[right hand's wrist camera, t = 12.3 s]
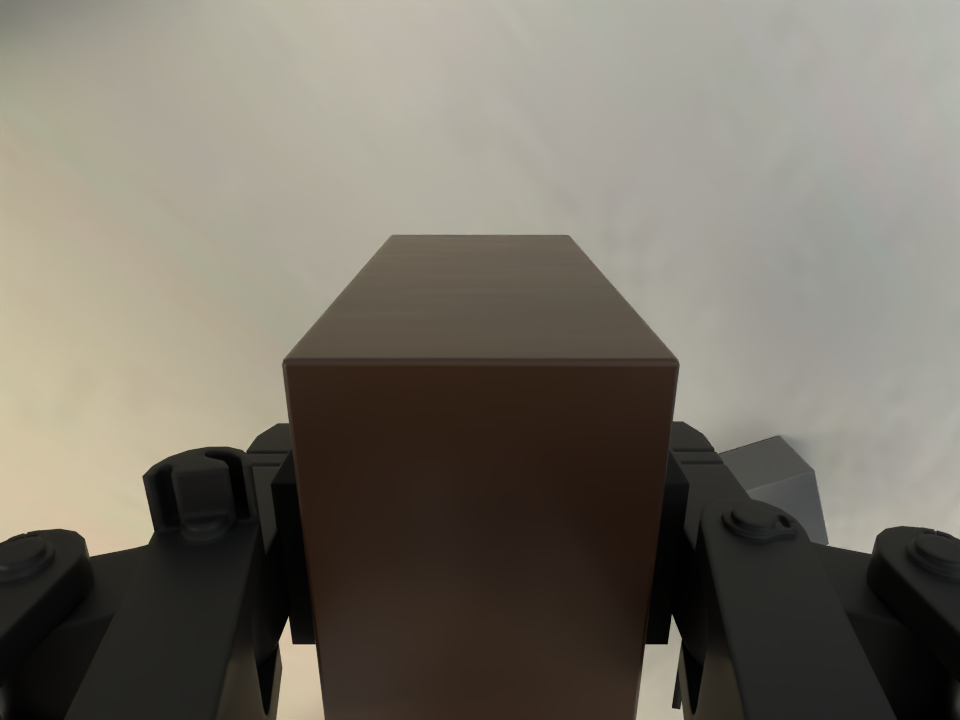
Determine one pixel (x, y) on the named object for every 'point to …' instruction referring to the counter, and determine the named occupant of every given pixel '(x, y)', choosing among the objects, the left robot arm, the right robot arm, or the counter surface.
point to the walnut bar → (480, 482)
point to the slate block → (780, 482)
